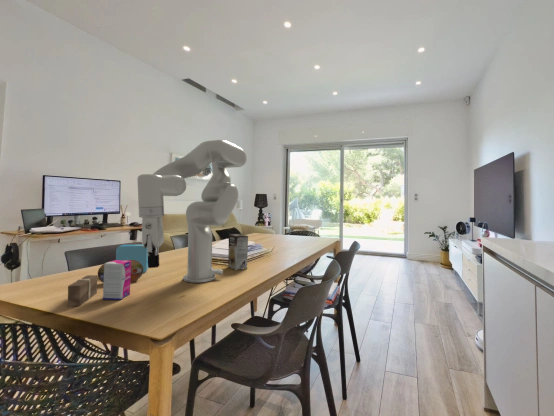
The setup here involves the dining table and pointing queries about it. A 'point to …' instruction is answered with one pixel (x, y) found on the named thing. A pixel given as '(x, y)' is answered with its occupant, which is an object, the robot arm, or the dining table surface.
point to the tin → (135, 271)
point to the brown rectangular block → (82, 290)
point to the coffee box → (238, 251)
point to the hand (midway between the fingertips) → (153, 266)
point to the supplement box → (116, 280)
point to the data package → (133, 254)
